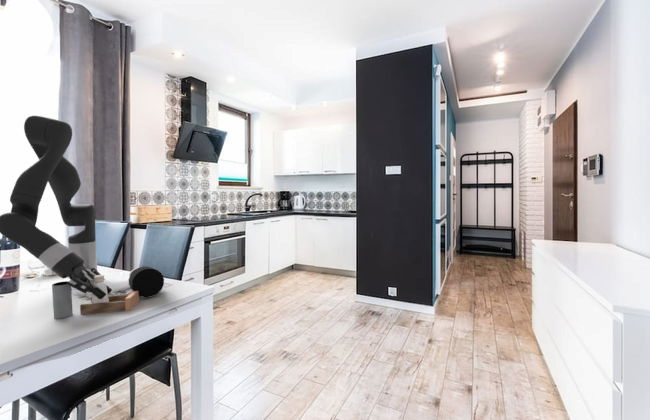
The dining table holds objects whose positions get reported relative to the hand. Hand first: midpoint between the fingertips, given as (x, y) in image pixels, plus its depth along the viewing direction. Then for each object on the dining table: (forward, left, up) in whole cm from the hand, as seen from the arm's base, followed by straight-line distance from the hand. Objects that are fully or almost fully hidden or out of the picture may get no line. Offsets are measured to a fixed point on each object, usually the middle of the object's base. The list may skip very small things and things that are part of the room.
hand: (106, 294), depth 105 cm
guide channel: (+1, +1, -5) cm, 5 cm away
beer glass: (-72, -10, -5) cm, 73 cm away
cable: (-17, +14, -5) cm, 23 cm away
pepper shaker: (-1, -2, -5) cm, 5 cm away
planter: (-2, -11, -5) cm, 12 cm away
